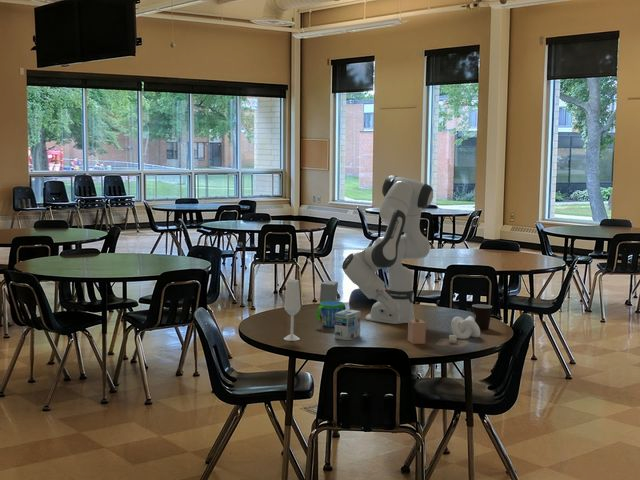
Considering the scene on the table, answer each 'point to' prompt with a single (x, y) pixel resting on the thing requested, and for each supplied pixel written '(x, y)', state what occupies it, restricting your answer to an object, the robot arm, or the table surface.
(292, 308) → the champagne flute
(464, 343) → the board
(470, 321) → the white lumpy piece
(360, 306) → the table surface
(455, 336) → the small white block
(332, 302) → the snack cup
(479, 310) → the coffee mug
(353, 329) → the light bulb box
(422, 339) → the pink juice box
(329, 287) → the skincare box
